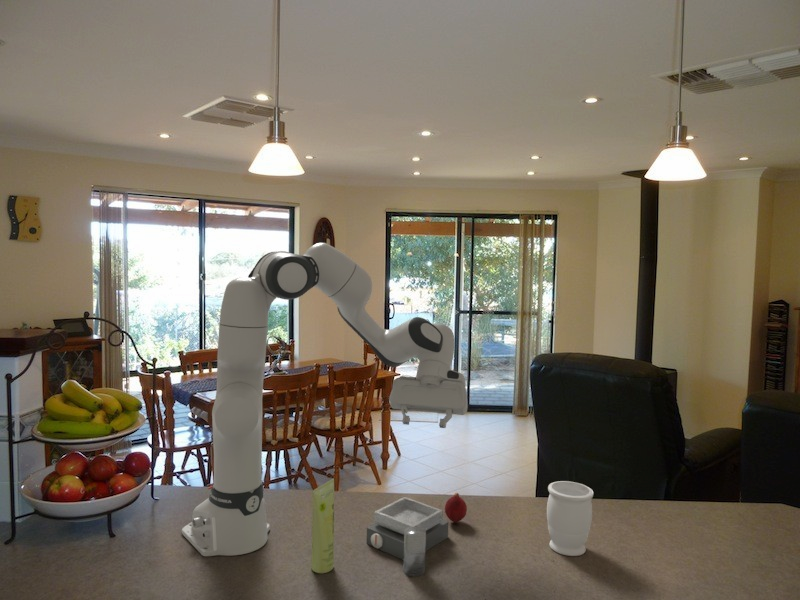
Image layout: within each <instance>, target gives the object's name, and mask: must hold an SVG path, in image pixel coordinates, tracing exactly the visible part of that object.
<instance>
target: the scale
mask: <svg viewBox="0 0 800 600" xmlns="http://www.w3.org/2000/svg"><path fill="white" fill-rule="evenodd" d="M448 537H449V521H448V520H445V519H442V522H440V523H438V524H437V525H435V526H433V527H432V528H430V529H428V530H427V531H426V546H425V553H426V552H427V551H429V550H430V549H432V548H433V547H435V546H436V545H438V544H440V543H441V542H443V541H444V540H446V539H448ZM366 544H367V545H369V546H371V547H373V548H375V549H378V550H380V551H382V552H384V553H387V554H389V555H392V556H394V557H396V558H398V559H400V560H403V561H404V535H403V534H400V533H398V532H395V531H393V530H390V529H388V528H386V527H383V526H381V525H378V524H376V523H373V524H371V525H370V526H367V527H366Z"/></svg>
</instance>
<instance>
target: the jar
mask: <svg viewBox="0 0 800 600" xmlns="http://www.w3.org/2000/svg"><path fill="white" fill-rule="evenodd" d="M547 491H548V492H549V495H548V499H547V503H546V519H547V529H548V533H549V536H550V537H549V538H550V539H551V540H550V541H549V544H548V545H549V547H550V549H552V551H554V552H555V553H557V554H561V555H562V556H563V555H564V556H567V557H568V556H569V557H579V556H582V555H584V553H586V545H585V544H586V543H587V540H588V538H589V534H590V529H591V526H592V520H593V506H592V499H593V497H594V491H593V489H592V488H590V487H589V486H587V485H585V484H583V483H579V482H577V481H575V482H574V481H569V480H560V481H559V480H558V481H554V482H551V483H549V484H548V486H547Z"/></svg>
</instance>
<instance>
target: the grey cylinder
mask: <svg viewBox="0 0 800 600" xmlns="http://www.w3.org/2000/svg"><path fill="white" fill-rule="evenodd" d="M425 546H426V531H425V530H424V529H423V528H420V527H409V528H407V529H405V531H404V560H403V564H402V565H403V566H402V571H403V573H404V574H405V575H406V576H408V577H415V578H416V577H420V576H421V577H422V575H424V574H425V572H426V552H425Z"/></svg>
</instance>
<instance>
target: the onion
mask: <svg viewBox="0 0 800 600" xmlns="http://www.w3.org/2000/svg"><path fill="white" fill-rule="evenodd" d="M467 508H468V506H467V504H466V502H465V500H464V499H463V498H462V497H461V496H460V494H459V493H458V492H455V493H454V495H453V496H451V497H450V498H448V499H447V501H446V503H445V505H444V513H445V514H446V517H447V518H448V519H449V520H450V521H451V522H452V523H455V524H456V523H458V522H460V521H462V520H463V519H464V518H465V517H466V516H467V510H468V509H467Z"/></svg>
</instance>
